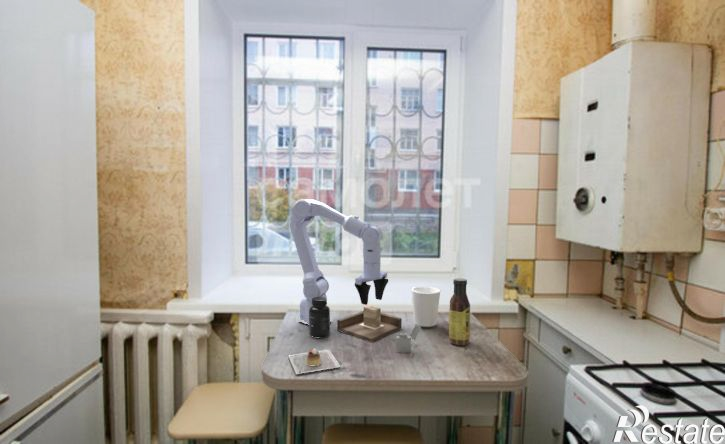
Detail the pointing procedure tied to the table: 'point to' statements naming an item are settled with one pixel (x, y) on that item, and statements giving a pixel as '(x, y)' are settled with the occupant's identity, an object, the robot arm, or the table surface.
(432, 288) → the cup
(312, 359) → the dessert
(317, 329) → the supplement bottle
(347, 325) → the corner board
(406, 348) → the lighter
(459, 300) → the sauce bottle
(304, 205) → the robot arm
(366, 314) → the maple block
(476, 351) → the table surface
